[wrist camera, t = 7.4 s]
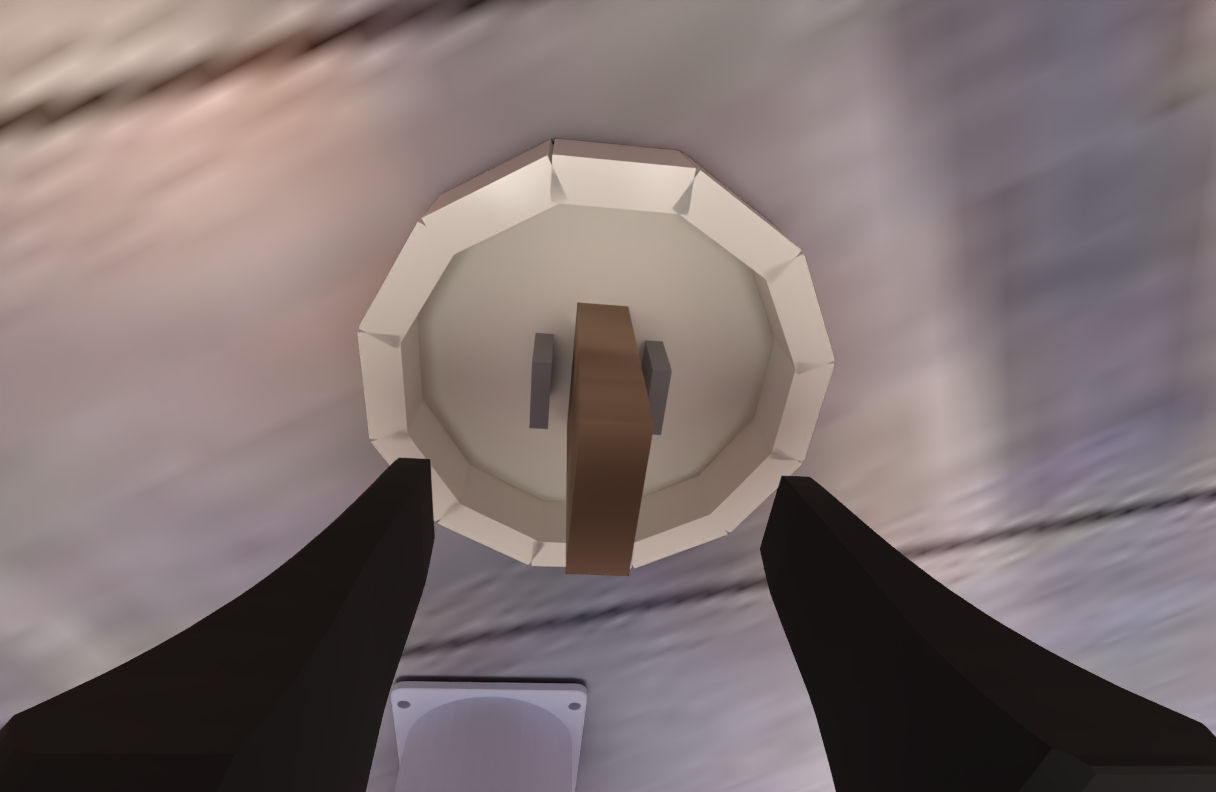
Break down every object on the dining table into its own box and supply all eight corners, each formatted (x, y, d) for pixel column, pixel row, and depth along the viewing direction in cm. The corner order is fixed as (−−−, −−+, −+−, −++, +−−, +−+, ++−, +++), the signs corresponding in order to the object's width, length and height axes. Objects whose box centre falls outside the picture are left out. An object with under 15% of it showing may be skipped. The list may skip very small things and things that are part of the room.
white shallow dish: (748, 520, 22) (768, 573, 20) (403, 506, 21) (383, 561, 18) (847, 167, 16) (891, 186, 14) (368, 119, 15) (334, 133, 12)
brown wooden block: (612, 428, 19) (628, 576, 14) (567, 425, 19) (565, 573, 13) (628, 306, 17) (654, 425, 12) (577, 302, 17) (580, 420, 11)
